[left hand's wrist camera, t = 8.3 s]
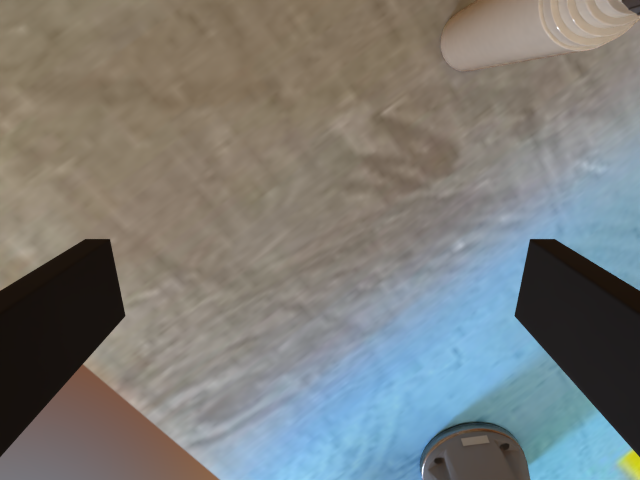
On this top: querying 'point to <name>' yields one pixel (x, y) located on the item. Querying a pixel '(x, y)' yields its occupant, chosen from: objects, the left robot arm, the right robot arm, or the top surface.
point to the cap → (632, 5)
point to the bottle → (530, 30)
